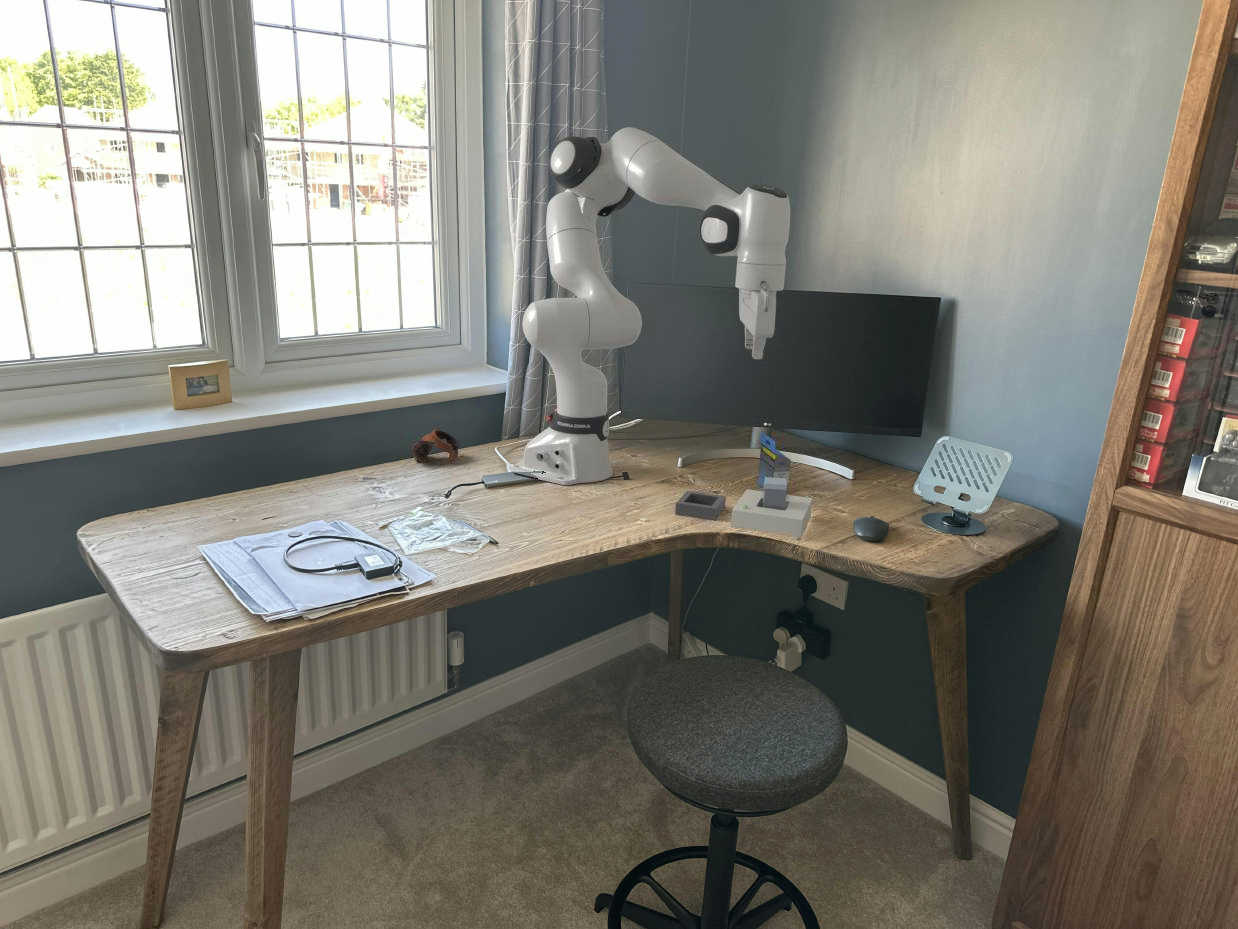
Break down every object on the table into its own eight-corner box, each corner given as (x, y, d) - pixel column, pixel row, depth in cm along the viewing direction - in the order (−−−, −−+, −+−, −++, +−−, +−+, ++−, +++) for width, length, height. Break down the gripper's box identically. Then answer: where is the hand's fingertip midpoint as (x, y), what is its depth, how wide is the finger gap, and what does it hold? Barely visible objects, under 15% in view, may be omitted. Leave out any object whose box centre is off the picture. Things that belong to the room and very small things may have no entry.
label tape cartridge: (788, 497, 175) (793, 441, 171) (770, 498, 174) (775, 441, 170) (773, 484, 183) (777, 430, 180) (756, 485, 182) (760, 430, 179)
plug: (762, 523, 158) (765, 483, 156) (761, 516, 162) (764, 477, 160) (783, 524, 158) (787, 484, 155) (782, 517, 162) (785, 478, 159)
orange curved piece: (427, 455, 200) (443, 426, 198) (454, 478, 197) (471, 449, 195) (395, 454, 189) (412, 424, 187) (422, 479, 186) (440, 448, 184)
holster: (675, 517, 162) (675, 502, 161) (686, 504, 169) (687, 490, 168) (715, 523, 159) (716, 508, 158) (725, 510, 166) (726, 496, 166)
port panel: (730, 529, 156) (732, 507, 155) (745, 508, 168) (747, 486, 167) (800, 540, 152) (802, 517, 151) (810, 517, 164) (812, 495, 162)
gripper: (787, 286, 143) (779, 365, 147) (768, 273, 162) (761, 344, 167) (750, 284, 143) (743, 364, 147) (736, 272, 162) (730, 342, 166)
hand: (753, 353), depth 157 cm, fingers open, 8 cm apart
